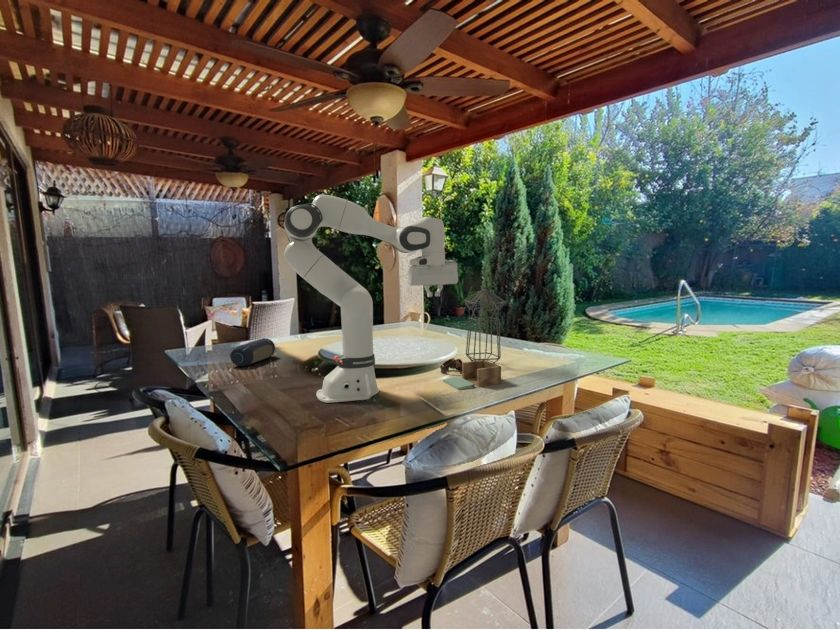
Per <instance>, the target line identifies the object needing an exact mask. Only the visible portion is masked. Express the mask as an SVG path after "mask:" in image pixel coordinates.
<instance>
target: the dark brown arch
mask: <svg viewBox="0 0 840 630" xmlns="http://www.w3.org/2000/svg"><path fill="white" fill-rule="evenodd" d="M462 363H463V360H462V359H460V358H457V359H455V358H454V357H453V358H449V359H447V360H446V361H445V362H443V363H442V364H441V365H440V366H439V369H440V373H441V374H444V373H446V372H447V373H449V371H450V369H453V370H455V371H461V372H460V373H459V374H460V375H462Z"/></svg>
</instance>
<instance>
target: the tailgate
mask: <svg viewBox="0 0 840 630" xmlns="http://www.w3.org/2000/svg"><path fill="white" fill-rule="evenodd" d="M442 382H443V383H445V384H447V385H448V386H449V387H452V388H454V389H456V390H457V391H460V390H461V391H462V390H467V389H473V388H475V387H476V385H475V384H473V383H471V382H469V381H467V380H465V379H463V378H462V376H461V377H460V376H456V377H450V378H449V377H448V378H445V379H442Z"/></svg>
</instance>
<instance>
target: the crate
mask: <svg viewBox="0 0 840 630" xmlns="http://www.w3.org/2000/svg"><path fill="white" fill-rule="evenodd" d="M461 378H463V379H465V380H467V381H469V382H471V383H473V384H475V387H477V388H481V387H487V386H492V385H499V384H502V366H501V365H499V364H496V363H495V364H493V362H490V361H488V360H487V361H486V360H476V361H471V360H470V361H465V362H463V361H462V374H461Z"/></svg>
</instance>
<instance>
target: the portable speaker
mask: <svg viewBox="0 0 840 630" xmlns="http://www.w3.org/2000/svg"><path fill="white" fill-rule="evenodd" d="M275 351H276V345H275V343H274V342H273V341H272V339H270V338H261V339H257V340H253V341H249V342H246V343H243V344H241V345H238V346H236V347H235V348H233V350H231V352H230V355H229V357H230V360H231V362H232V363H233V364H234V365H235V366H236V367H237V366H238V367H243V368H244V367H246V366H249V365H252V364H255V363H257V362H260V361H263V360H265V359H269V358H271V357H272V356H273V355H274V353H275Z"/></svg>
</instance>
